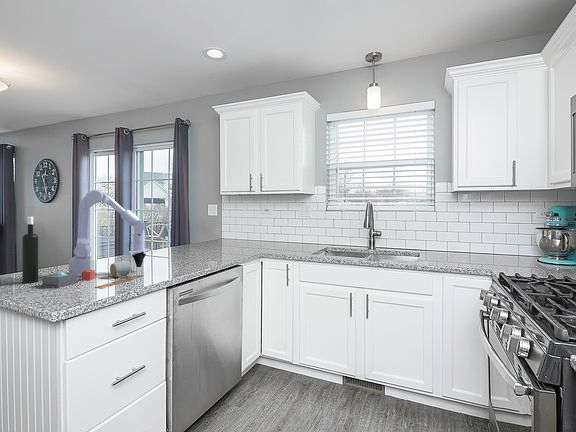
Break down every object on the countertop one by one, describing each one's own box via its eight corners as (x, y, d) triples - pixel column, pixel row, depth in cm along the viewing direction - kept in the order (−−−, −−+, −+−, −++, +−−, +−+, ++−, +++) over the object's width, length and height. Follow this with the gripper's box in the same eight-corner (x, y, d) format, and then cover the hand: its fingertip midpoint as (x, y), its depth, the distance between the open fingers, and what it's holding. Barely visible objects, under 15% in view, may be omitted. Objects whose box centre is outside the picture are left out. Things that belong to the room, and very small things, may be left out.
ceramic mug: (108, 276, 163) (109, 261, 163) (125, 273, 169) (125, 259, 169) (117, 280, 156) (117, 264, 156) (134, 277, 162) (134, 262, 162)
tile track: (95, 287, 141) (95, 287, 141) (137, 275, 167) (137, 274, 167) (102, 288, 140) (102, 287, 140) (144, 276, 166) (144, 275, 166)
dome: (49, 282, 143) (49, 272, 143) (60, 279, 148) (60, 269, 148) (59, 283, 142) (59, 273, 141) (70, 280, 147) (70, 270, 147)
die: (81, 280, 154) (81, 271, 154) (86, 278, 158) (86, 269, 158) (90, 280, 154) (90, 271, 154) (94, 278, 158) (94, 269, 158)
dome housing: (42, 285, 142) (42, 275, 142) (61, 281, 150) (61, 271, 150) (58, 287, 140) (58, 277, 139) (76, 283, 148) (76, 273, 148)
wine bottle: (36, 279, 152) (36, 216, 151) (40, 282, 148) (39, 216, 148) (20, 282, 148) (20, 216, 147) (24, 284, 144) (23, 216, 143)
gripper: (135, 243, 168) (135, 269, 169) (154, 241, 182) (153, 265, 183) (124, 243, 170) (124, 268, 170) (143, 240, 184) (143, 264, 184)
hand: (138, 266), depth 177 cm, fingers closed
